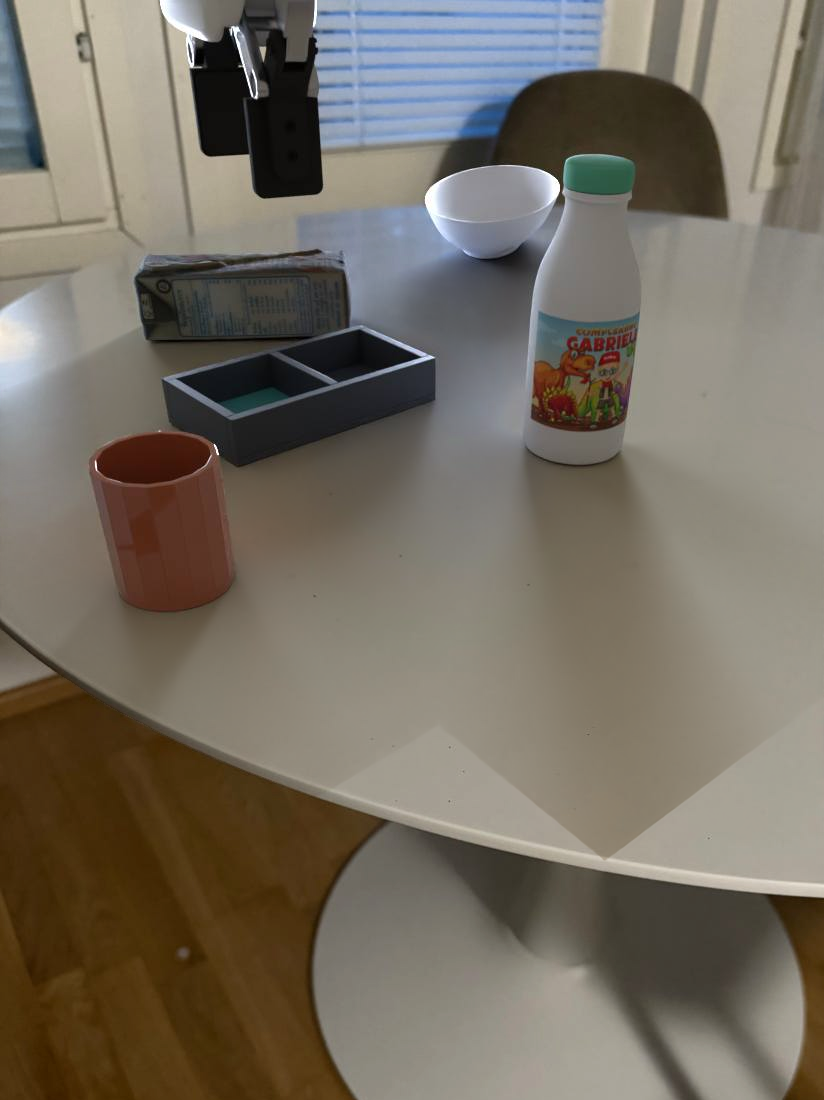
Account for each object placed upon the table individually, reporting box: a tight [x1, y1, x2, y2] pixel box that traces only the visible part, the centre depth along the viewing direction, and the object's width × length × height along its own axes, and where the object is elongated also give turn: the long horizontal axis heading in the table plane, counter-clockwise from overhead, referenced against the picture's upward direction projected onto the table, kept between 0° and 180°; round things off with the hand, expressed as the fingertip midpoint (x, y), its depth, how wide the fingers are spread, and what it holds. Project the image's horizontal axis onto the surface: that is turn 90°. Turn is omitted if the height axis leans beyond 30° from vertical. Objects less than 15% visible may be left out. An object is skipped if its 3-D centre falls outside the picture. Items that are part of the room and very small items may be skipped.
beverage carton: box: [133, 248, 353, 341], centre depth 90 cm, size 8×19×7 cm, turn 98°
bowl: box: [424, 164, 560, 260], centre depth 116 cm, size 30×15×6 cm, turn 167°
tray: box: [161, 324, 437, 467], centre depth 76 cm, size 10×19×4 cm, turn 133°
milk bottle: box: [522, 153, 642, 466], centre depth 67 cm, size 8×8×20 cm
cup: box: [87, 430, 236, 612], centre depth 55 cm, size 7×7×8 cm
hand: (258, 173), depth 48 cm, fingers open, 9 cm apart
